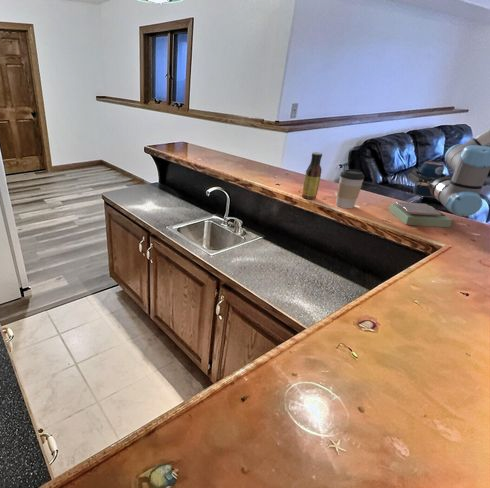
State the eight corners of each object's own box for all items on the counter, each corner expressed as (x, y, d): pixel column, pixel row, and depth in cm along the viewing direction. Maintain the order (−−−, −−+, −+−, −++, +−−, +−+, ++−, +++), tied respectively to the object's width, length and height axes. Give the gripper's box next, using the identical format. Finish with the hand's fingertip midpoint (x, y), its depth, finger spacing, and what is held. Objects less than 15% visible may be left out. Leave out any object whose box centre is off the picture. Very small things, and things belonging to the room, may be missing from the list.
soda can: (437, 198, 128) (450, 165, 123) (417, 196, 129) (428, 164, 123) (427, 192, 134) (439, 161, 129) (408, 191, 135) (419, 160, 130)
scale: (428, 212, 141) (430, 205, 140) (449, 227, 128) (452, 219, 127) (388, 210, 143) (391, 203, 142) (405, 224, 130) (408, 216, 128)
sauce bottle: (306, 194, 160) (314, 150, 151) (318, 198, 156) (328, 153, 147) (298, 197, 156) (306, 152, 148) (311, 201, 152) (320, 155, 143)
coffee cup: (350, 211, 142) (359, 174, 135) (328, 205, 148) (337, 170, 141) (360, 206, 147) (370, 171, 140) (339, 200, 153) (347, 166, 146)
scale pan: (425, 205, 138) (426, 203, 138) (440, 215, 129) (441, 213, 128) (395, 203, 140) (396, 202, 139) (408, 213, 130) (409, 211, 130)
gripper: (408, 198, 117) (392, 179, 137) (479, 205, 112) (451, 185, 132) (416, 176, 114) (398, 160, 134) (489, 182, 109) (459, 165, 128)
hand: (424, 173), depth 133 cm, fingers closed on soda can, 7 cm apart
